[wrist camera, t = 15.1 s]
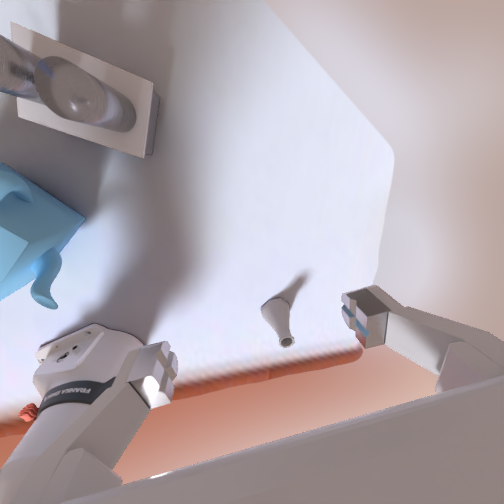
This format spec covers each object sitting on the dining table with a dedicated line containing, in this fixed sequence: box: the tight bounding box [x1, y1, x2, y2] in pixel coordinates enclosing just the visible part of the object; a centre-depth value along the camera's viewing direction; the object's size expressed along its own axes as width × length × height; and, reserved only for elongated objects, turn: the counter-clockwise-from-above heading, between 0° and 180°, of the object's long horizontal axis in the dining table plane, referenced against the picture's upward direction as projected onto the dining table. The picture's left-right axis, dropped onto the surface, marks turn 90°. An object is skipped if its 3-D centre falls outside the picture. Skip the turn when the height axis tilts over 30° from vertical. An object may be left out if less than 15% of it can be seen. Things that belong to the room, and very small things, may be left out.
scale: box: [10, 21, 160, 159], centre depth 27 cm, size 14×9×6 cm, turn 71°
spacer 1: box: [0, 35, 46, 106], centre depth 19 cm, size 4×4×9 cm
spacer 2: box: [34, 56, 136, 133], centre depth 21 cm, size 4×4×9 cm
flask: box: [261, 298, 295, 348], centre depth 45 cm, size 7×7×10 cm
